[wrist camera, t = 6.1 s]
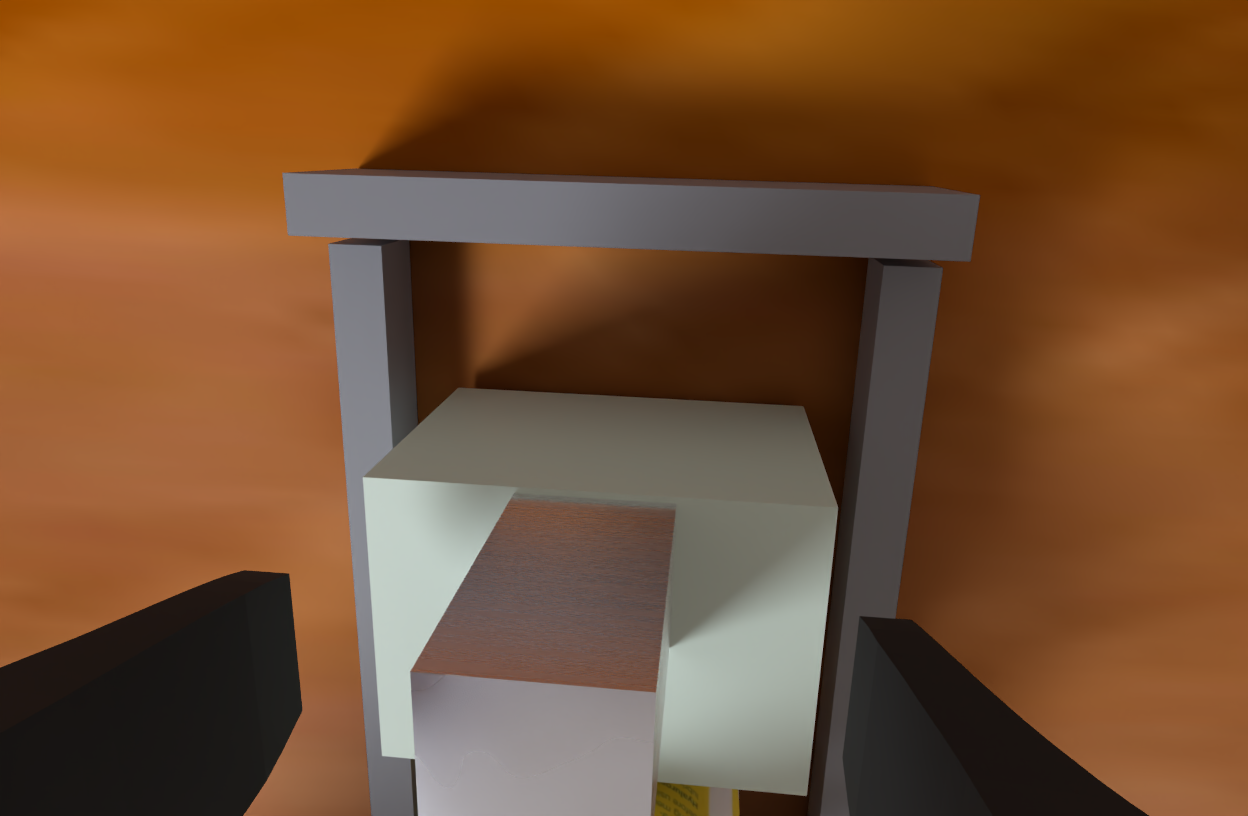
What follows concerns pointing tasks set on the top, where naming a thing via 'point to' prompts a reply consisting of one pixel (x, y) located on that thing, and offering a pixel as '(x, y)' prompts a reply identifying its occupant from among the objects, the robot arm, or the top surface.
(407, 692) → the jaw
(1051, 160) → the top surface
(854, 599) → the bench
